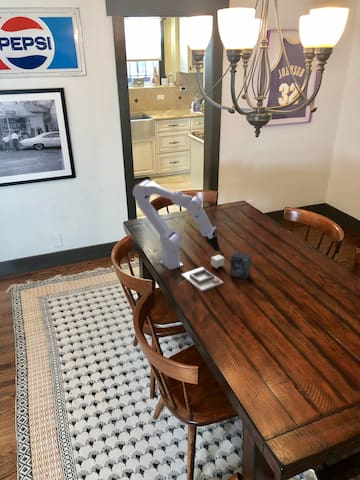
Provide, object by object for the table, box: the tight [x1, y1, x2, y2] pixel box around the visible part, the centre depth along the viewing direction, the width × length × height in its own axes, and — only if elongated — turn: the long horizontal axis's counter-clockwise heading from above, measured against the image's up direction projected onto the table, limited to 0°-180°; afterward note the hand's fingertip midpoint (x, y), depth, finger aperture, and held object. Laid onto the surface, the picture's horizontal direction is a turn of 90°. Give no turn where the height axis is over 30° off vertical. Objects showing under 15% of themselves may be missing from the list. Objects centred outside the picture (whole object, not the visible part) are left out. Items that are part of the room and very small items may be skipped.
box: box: [229, 251, 252, 280], centre depth 170 cm, size 8×6×11 cm
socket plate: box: [181, 266, 224, 292], centre depth 169 cm, size 16×12×2 cm
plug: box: [210, 254, 225, 270], centre depth 178 cm, size 4×5×5 cm
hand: (216, 248), depth 168 cm, fingers open, 7 cm apart
